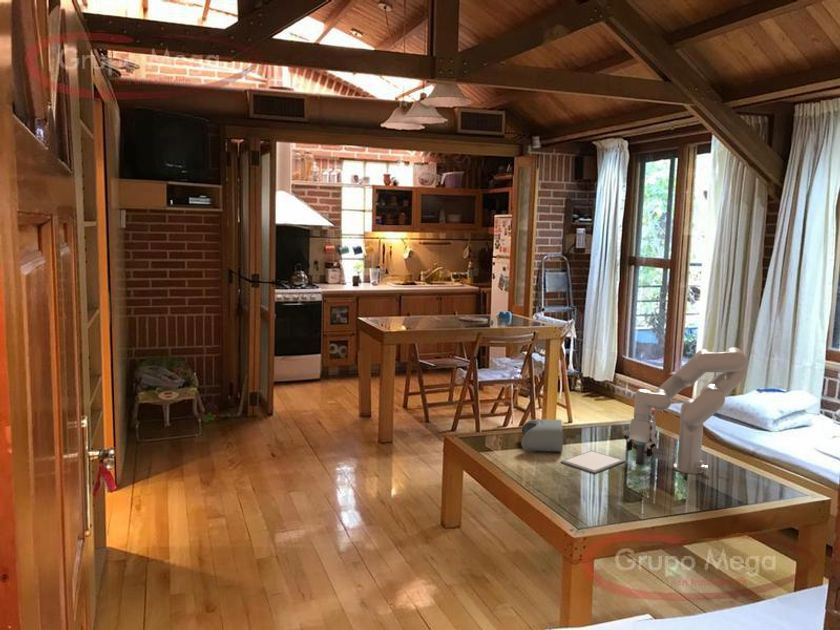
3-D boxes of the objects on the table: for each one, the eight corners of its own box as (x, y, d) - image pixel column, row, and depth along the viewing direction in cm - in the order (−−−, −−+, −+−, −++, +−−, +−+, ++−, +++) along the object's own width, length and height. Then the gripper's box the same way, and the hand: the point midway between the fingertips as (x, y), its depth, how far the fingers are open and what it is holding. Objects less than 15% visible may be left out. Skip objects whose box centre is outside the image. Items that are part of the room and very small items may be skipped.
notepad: (625, 462, 315) (625, 460, 315) (594, 473, 299) (594, 471, 299) (591, 452, 328) (591, 450, 328) (560, 462, 312) (560, 460, 312)
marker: (645, 463, 314) (647, 438, 312) (641, 465, 311) (642, 439, 310) (638, 461, 316) (639, 435, 315) (633, 463, 314) (635, 437, 312)
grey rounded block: (562, 456, 321) (562, 429, 319) (521, 455, 324) (521, 428, 322) (560, 441, 342) (560, 416, 341) (522, 441, 345) (521, 416, 344)
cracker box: (654, 452, 329) (657, 409, 327) (641, 452, 330) (644, 409, 327) (645, 443, 343) (648, 402, 341) (633, 442, 343) (635, 401, 341)
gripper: (664, 420, 307) (660, 457, 309) (629, 411, 320) (626, 446, 322) (655, 422, 302) (651, 460, 305) (620, 413, 315) (617, 449, 317)
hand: (638, 453), depth 313 cm, fingers open, 9 cm apart
